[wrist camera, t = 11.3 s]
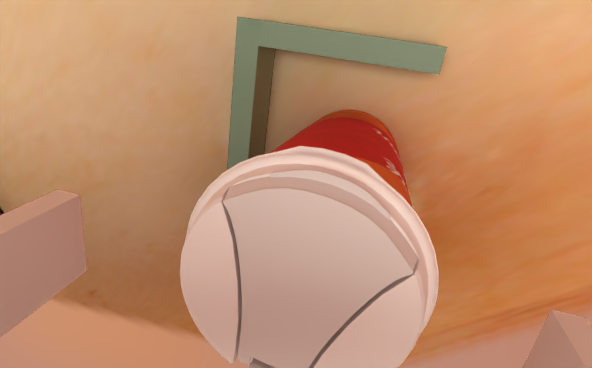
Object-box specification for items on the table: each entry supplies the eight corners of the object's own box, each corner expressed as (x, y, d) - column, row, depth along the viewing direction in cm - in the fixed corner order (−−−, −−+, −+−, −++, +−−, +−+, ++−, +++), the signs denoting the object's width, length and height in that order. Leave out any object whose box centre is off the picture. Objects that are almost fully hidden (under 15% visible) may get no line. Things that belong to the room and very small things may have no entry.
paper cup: (387, 230, 24) (378, 446, 11) (274, 189, 25) (148, 346, 12) (439, 113, 21) (507, 230, 8) (307, 70, 22) (185, 116, 9)
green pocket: (239, 226, 27) (221, 247, 24) (257, 19, 21) (237, 16, 19) (382, 261, 25) (381, 289, 22) (439, 45, 20) (446, 47, 17)
